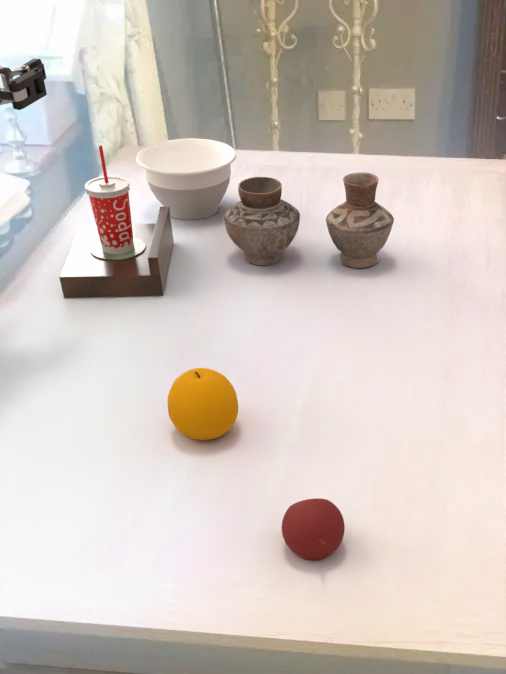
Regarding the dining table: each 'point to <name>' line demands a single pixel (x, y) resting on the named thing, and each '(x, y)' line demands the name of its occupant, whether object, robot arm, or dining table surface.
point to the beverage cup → (111, 211)
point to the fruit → (313, 528)
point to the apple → (202, 404)
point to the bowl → (188, 175)
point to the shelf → (119, 262)
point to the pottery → (283, 221)
